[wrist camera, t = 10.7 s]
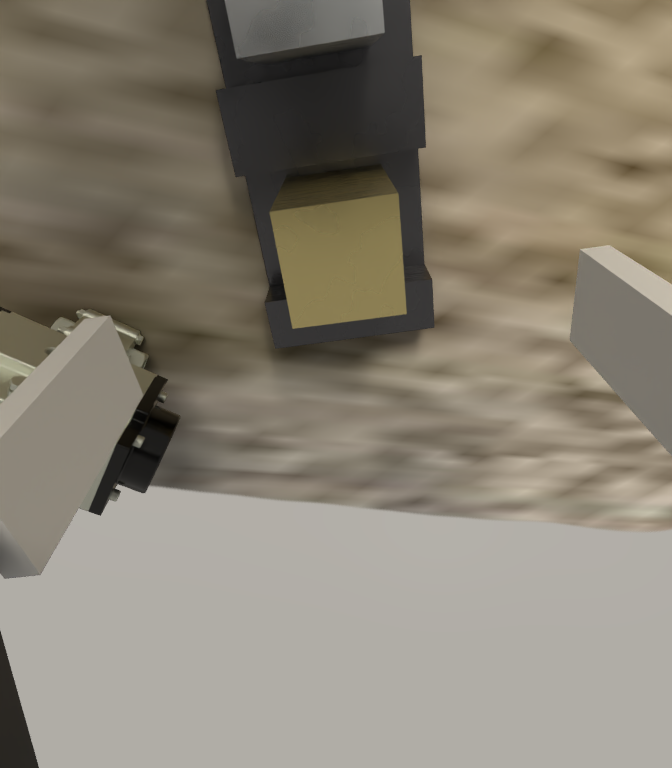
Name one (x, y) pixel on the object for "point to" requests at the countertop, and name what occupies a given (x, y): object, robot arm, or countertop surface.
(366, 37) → the light grey upright block
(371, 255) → the block
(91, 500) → the pneumatic valve
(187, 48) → the countertop surface
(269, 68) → the rack
